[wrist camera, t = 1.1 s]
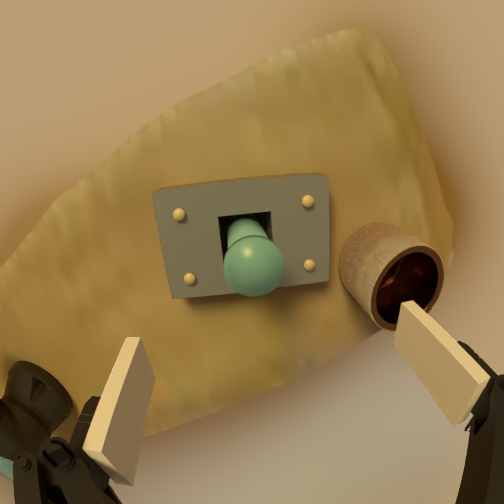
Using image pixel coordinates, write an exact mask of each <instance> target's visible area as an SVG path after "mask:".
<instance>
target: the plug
mask: <svg viewBox="0 0 504 504" xmlns="http://www.w3.org/2000/svg"><path fill="white" fill-rule="evenodd" d="M227 242H228V250H227V252H226V254H225V257H224V276H225V279H226V281H227V283H228V285H229V286H230V287H231V288H232V289H233V290H234V291H236V292H237V293H239V294H241V295H244V296H249V297H258V296H262V295H265V294H268V293H270V292H271V291H273V290H274V289H275V288H276V287H277V286H278V285H279V284H280V282H281V281H282V279H283V277H284V274H285V260H284V257H283V255H282V253H281V251H280V250H279V248H278V246H277V245H276V244H275V243H274V242H273V241H271V240H270V239H268V237H267V235H266V233H265V231H264V229H263V227H262V226H261V224H260V222H259V220H258V219H257V218H256V217H255V216H254V215H252V214H250V213H248V214H238V215H235V216H233V217H232V218H231V219H230V221H229V223H228V225H227Z"/></svg>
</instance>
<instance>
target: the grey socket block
mask: <svg viewBox="0 0 504 504" xmlns="http://www.w3.org/2000/svg"><path fill="white" fill-rule="evenodd" d="M153 200H154V206H155V213H156V219H157V225H158V231H159V237H160V242H161V247H162V253H163V258H164V263H165V268H166V273H167V278H168V282H169V287H170V291H171V296H172V299H181V298H192V297H202V296H212V295H221V294H230V293H237V292H236V291H234V290H233V289H232V288H231V287H230V286H229V285H228V283H227V281H226V279H225V276H224V257H225V254H224V252H223V244H222V236H221V227H220V218H219V217H220V216H229V215H238V214H248V213H258V212H266V219H267V233H268V239H270V240H271V241H273V242H274V243H275V244H276V245H277V246H278V248H279V250H280V251H281V253H282V255H283V257H284V260H285V274H284V277H283V279H282V281H281V282H280V284H279V285H278V286H277V287H276V288H281V287H289V286H296V285H304V284H311V283H318V282H325V281H329V263H330V211H329V178H328V175H325V174H320V173H300V174H284V175H271V176H258V177H247V178H237V179H227V180H218V181H209V182H201V183H193V184H186V185H178V186H171V187H165V188H160V189H158V190H157V191H155V192H153Z"/></svg>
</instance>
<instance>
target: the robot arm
mask: <svg viewBox="0 0 504 504" xmlns="http://www.w3.org/2000/svg"><path fill="white" fill-rule="evenodd" d="M393 345H394V347H395V348H396V349H397V350H398V352H399V353H400V354H401V355H402V357H403V358H404V360H405V361H406V362H407V363H408V365H409V366H410V367H411V369H412V370H413V371H414V373H415V374H416V375H417V377H418V378H419V379H420V381H421V382H422V383H423V385H424V386H425V388H426V389H427V390H428V392H429V393H430V395H431V396H432V397H433V399H434V400H435V401H436V403H437V404H438V406H439V407H440V409H441V410H442V411H443V413H444V414H445V415H446V417H447V418H448V420H449V421H450V423H451V424H452V426H453V427H454V426H456V425H458V424H459V423H461V422H463V421H464V420H465V419H466V418H467V417H468V415H469V413H470V412H471V413H472V414H473V415H474V416H473V417H472V419H471V420H470V422H469V423H468V425H467V426H466V427H465V430H464V431H467V429H468V428H469V427H470V430H469V432H470V435H469V443H468V449H467V456H466V461H465V466H464V471H463V476H462V480H461V484H460V488H459V492H458V496H457V500H456V503H455V504H504V375H499V376H498V375H497V374H496V373H495V372H494V371H493V370H492V369H491V368H490V367H489V366H488V365H487V364H486V363H485V362H484V361H483V360H482V359H481V358H479V356H478V355H477V354H476V353H474V351H473V350H472V349H471V348H470V347H469V346H468V345H467V344H465V343H463V342H461V341H458V342H456V341H455V340H454V339H453V338H452V337H451V336H450V335H449V334H448V333H447V332H446V331H445V330H444V329H443V328H442V327H440V326H439V324H438V323H437V322H435V321H434V320H433V319H432V318H431V317H430V316H429V315H428V314H427V313H426V312H425V311H424V310H423V309H422V308H420V307H419V306H418V305H417V304H416V303H415V302H414V301H413V300H412V301H408V302H403V303H401V308H400V313H399V318H398V323H397V328H396V333H395V337H394V341H393ZM154 383H155V375H154V372H153V370H152V367H151V365H150V362H149V359H148V357H147V354H146V351H145V348H144V346H143V343H142V340H141V337H128V338H126V340H125V342H124V344H123V346H122V348H121V351H120V353H119V355H118V358H117V360H116V362H115V364H114V367H113V369H112V371H111V374H110V376H109V379H108V381H107V384H106V386H105V388H104V391H103V393H102V396H101V397H96V396H92V397H91V398H90V399H89V400H88V401H87V402H86V403H85V405H84V407H83V410H82V412H81V415H80V417H79V419H78V422H77V424H76V427H75V429H74V432H73V435H72V437H71V440H70V442H69V444H68V443H67V441H66V440H64V439H63V438H61V437H52V438H50V436H51V434H52V432H53V431H54V430H55V429H56V428H57V427H58V426H59V425H60V424H61V423H62V422H63V421H65V420H66V419H67V418H68V417H69V415H70V412H71V410H72V401H71V399H70V396H69V395H68V393H67V392H66V390H65V389H64V388H63V386H62V385H61V384H60V383H59V382H58V381H57V380H56V379H55V378H54V377H53V376H51V375H50V374H49V373H48V372H46V371H45V370H43V369H42V368H40V367H39V366H37V365H35V364H33V363H30V362H27V361H18V362H16V363H15V364H14V365H13V367H12V368H11V369H10V371H9V376H8V380H7V384H6V388H5V393H4V395H3V397H2V399H0V475H2V476H4V477H5V478H7V479H9V480H11V481H13V484H14V497H15V504H122V503H121V501H120V500H119V499H118V497H117V496H116V494H115V492H114V491H113V489H112V488H111V486H110V485H109V484H108V483H109V479H110V478H111V479H112V480H113V481H114V482H115V483H117V484H124V485H130V486H133V484H134V478H135V473H136V467H137V462H138V456H139V450H140V446H141V441H142V436H143V431H144V426H145V422H146V417H147V413H148V408H149V404H150V399H151V395H152V391H153V387H154ZM470 425H471V426H470Z"/></svg>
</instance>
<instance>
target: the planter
mask: <svg viewBox="0 0 504 504" xmlns="http://www.w3.org/2000/svg"><path fill="white" fill-rule="evenodd" d="M339 274H340V278H341V281H342V283H343V285H344V287H345V289H346V290H347V291H348V292H349V293H350V295H351V296H352V297H353V298H354V299H355V300H356V301H357V302H358V304H359V305H360V306H361V307H362V308H363V309H364V310H365V312H366V313H367V314H368V315H369V316H370V318H371V319H372V320H373V321H374V322H375V324H376V325H377V326H379V327H380V328H382V329H384V330H387V331H396V328H397V323H398V318H399V313H400V308H401V303H403V302H408V301H412V300H413V301H414V302H415V303H416V304H417V305H418V306H419V307H420V308H422V309H423V310H424V311H425V312H426V313H427V314H428V313H429V311H430V310H431V309H432V307H433V306H434V305H435V303H436V301H437V299H438V297H439V295H440V293H441V290H442V286H443V282H444V265H443V261H442V259H441V257H440V255H439V253H438V252H437V251H436V250H435V249H433V248H432V247H430V246H429V245H427V244H425V243H423V242H421V241H419V240H418V239H416V238H414V237H412V236H411V235H409V234H407V233H405V232H404V231H402V230H400V229H398V228H396V227H394V226H392V225H389V224H386V223H373V224H370V225H367V226H365V227H363V228H361V229H360V230H358V231H357V232H356V233H355V234H354V235H353V236H352V237H351V238H350V239H349V240H348V242H347V243H346V245H345V247H344V249H343V251H342V254H341V257H340V262H339Z"/></svg>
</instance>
